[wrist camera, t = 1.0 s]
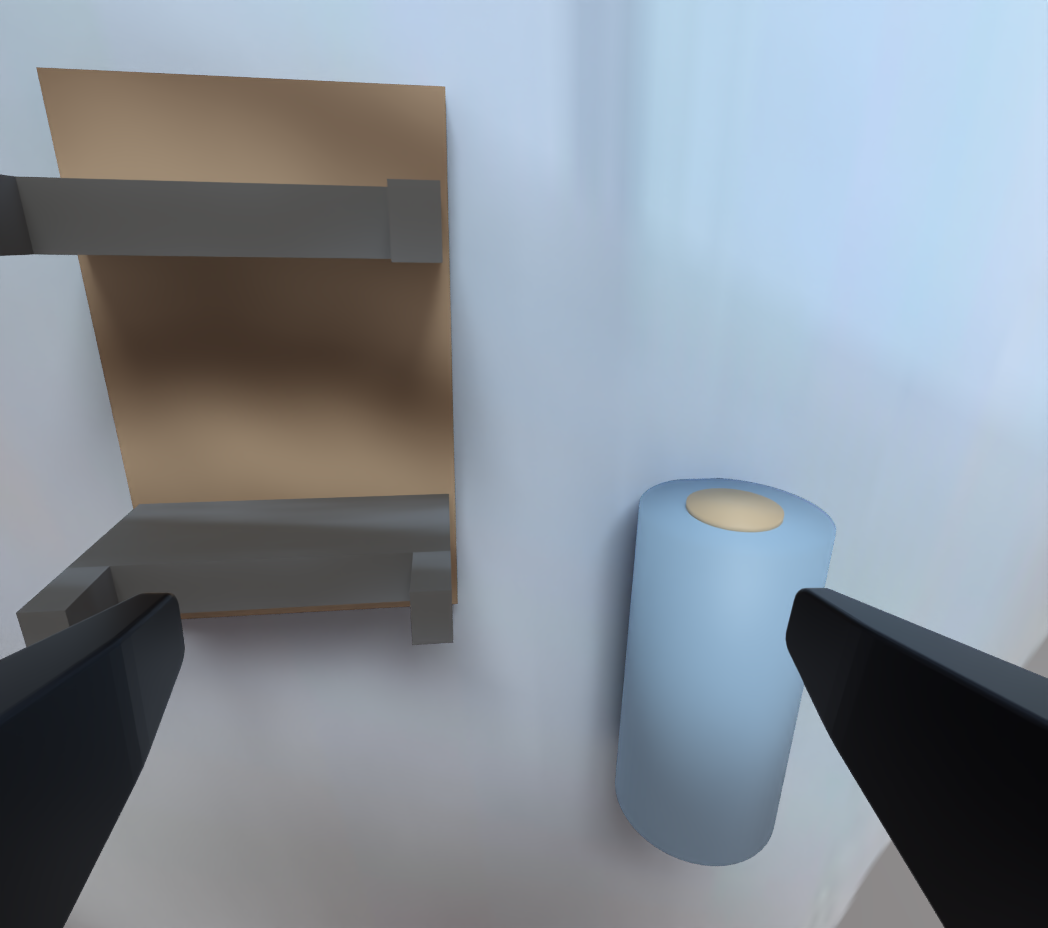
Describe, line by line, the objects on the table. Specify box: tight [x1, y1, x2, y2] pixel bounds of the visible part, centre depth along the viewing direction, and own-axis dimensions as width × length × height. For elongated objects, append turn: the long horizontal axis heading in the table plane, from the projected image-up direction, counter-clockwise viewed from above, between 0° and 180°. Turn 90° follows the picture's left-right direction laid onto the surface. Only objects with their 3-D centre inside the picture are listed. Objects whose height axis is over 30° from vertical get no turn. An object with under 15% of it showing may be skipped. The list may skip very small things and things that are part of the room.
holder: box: [0, 67, 458, 647], centre depth 16 cm, size 16×10×7 cm, turn 179°
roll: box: [615, 478, 836, 866], centre depth 22 cm, size 12×6×6 cm, turn 179°
